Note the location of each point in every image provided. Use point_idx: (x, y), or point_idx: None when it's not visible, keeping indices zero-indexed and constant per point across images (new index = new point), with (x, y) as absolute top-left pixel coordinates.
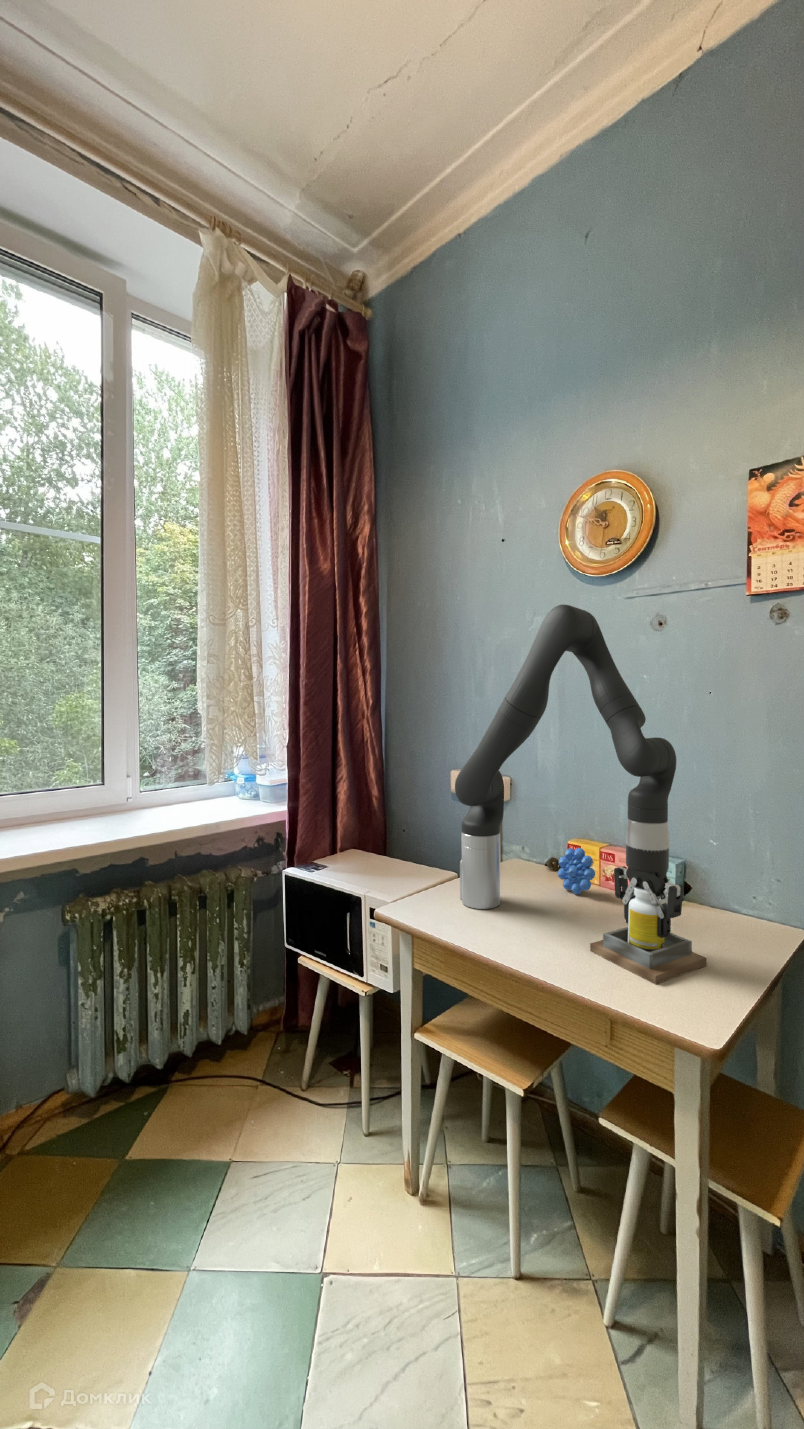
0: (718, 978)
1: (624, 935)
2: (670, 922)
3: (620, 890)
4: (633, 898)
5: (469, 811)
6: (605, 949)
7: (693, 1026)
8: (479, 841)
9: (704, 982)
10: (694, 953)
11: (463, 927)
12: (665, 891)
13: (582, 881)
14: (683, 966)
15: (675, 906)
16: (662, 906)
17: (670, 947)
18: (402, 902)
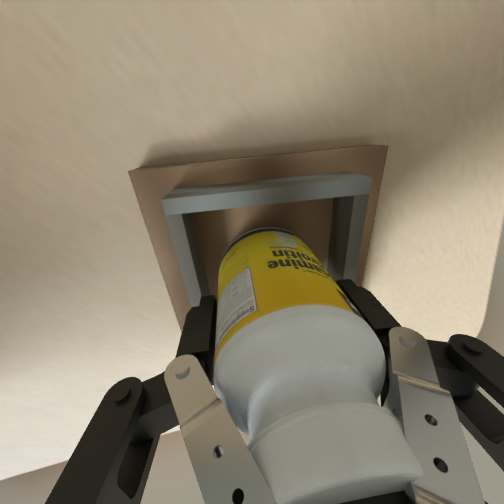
0: (421, 179)
1: (205, 292)
2: (393, 318)
3: (149, 466)
4: (247, 433)
5: None
6: None
7: (441, 336)
8: None
9: (405, 225)
10: (351, 156)
11: (34, 439)
12: (472, 466)
13: None
14: (367, 244)
15: (494, 390)
16: (383, 367)
17: (353, 273)
18: None
